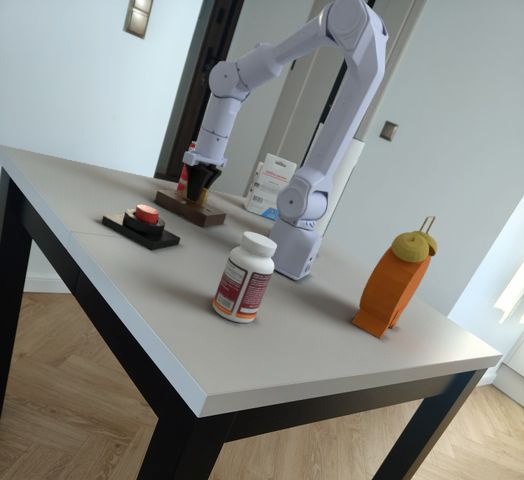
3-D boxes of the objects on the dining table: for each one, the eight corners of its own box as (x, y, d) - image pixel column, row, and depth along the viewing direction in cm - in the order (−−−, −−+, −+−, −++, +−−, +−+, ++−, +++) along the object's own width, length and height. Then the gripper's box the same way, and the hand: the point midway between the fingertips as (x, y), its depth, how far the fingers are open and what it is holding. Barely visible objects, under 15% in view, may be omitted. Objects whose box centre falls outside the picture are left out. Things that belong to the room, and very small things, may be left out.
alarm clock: (368, 309, 95) (421, 208, 87) (397, 325, 93) (454, 223, 85) (345, 322, 84) (403, 207, 75) (378, 341, 82) (441, 225, 73)
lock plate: (223, 224, 108) (227, 212, 107) (202, 227, 100) (206, 214, 99) (177, 200, 111) (181, 189, 110) (153, 202, 103) (157, 189, 102)
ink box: (273, 215, 135) (294, 161, 128) (276, 221, 130) (298, 164, 124) (243, 205, 132) (263, 148, 126) (245, 210, 128) (266, 152, 122)
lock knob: (204, 206, 105) (210, 189, 103) (201, 207, 103) (207, 189, 102) (184, 196, 106) (190, 179, 104) (181, 196, 104) (186, 179, 103)
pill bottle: (253, 311, 73) (281, 240, 69) (253, 329, 68) (285, 254, 63) (212, 297, 72) (238, 224, 67) (209, 314, 67) (238, 237, 62)
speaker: (316, 260, 111) (370, 141, 100) (272, 243, 110) (321, 120, 99) (314, 248, 121) (363, 137, 110) (274, 231, 120) (319, 118, 108)
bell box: (178, 244, 86) (183, 228, 85) (151, 250, 79) (157, 232, 78) (131, 219, 88) (135, 203, 87) (101, 223, 81) (105, 205, 80)
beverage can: (172, 191, 116) (188, 138, 111) (193, 197, 119) (209, 146, 114) (178, 198, 113) (195, 144, 108) (200, 204, 115) (217, 152, 110)
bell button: (160, 223, 84) (163, 213, 83) (147, 224, 80) (150, 214, 80) (142, 214, 84) (145, 204, 84) (129, 215, 81) (132, 204, 80)
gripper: (215, 128, 106) (195, 191, 112) (178, 120, 93) (158, 192, 99) (243, 141, 104) (222, 204, 110) (210, 136, 92) (188, 207, 97)
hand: (193, 199), depth 104 cm, fingers closed
